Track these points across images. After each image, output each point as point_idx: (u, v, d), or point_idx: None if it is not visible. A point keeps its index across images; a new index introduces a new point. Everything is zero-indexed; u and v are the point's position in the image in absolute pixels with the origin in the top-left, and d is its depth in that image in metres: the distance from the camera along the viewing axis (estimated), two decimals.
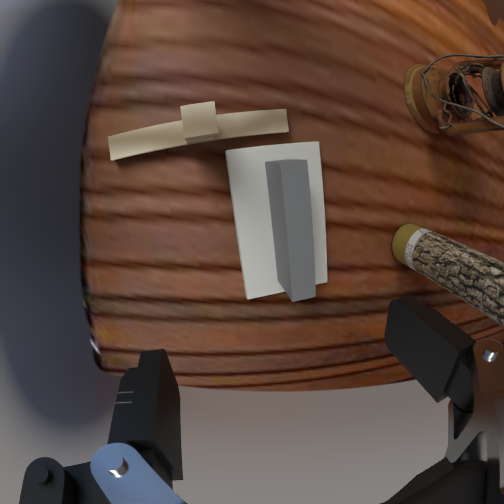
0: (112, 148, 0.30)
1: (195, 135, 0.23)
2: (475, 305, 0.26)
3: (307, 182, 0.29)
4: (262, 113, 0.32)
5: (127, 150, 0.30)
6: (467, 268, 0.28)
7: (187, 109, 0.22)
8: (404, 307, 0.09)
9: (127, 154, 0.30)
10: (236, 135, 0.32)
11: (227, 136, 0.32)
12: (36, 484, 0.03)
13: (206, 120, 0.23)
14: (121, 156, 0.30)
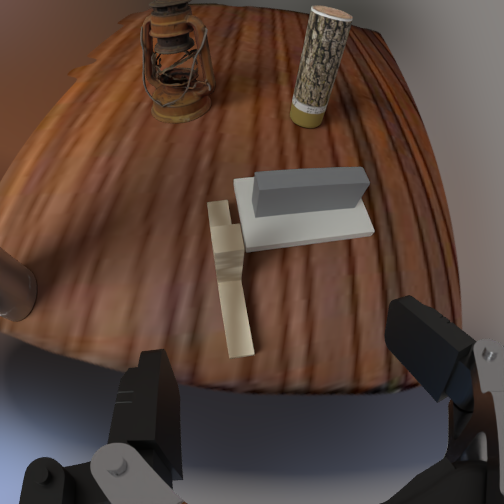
0: (242, 352, 0.33)
1: (242, 240, 0.29)
2: (342, 47, 0.36)
3: (273, 171, 0.37)
4: (212, 219, 0.40)
5: (245, 336, 0.34)
6: (317, 57, 0.38)
7: (217, 247, 0.28)
8: (404, 307, 0.09)
9: (249, 336, 0.34)
10: None
11: None
12: (36, 484, 0.03)
13: (228, 232, 0.29)
14: (251, 343, 0.33)
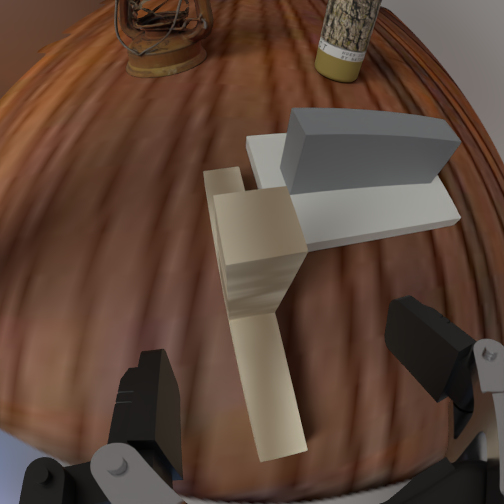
0: (284, 451, 0.14)
1: (298, 228, 0.11)
2: None
3: (323, 109, 0.18)
4: (212, 199, 0.22)
5: (289, 422, 0.15)
6: None
7: (234, 247, 0.10)
8: (404, 307, 0.09)
9: (297, 421, 0.15)
10: None
11: None
12: (36, 484, 0.03)
13: (259, 207, 0.11)
14: (300, 432, 0.15)
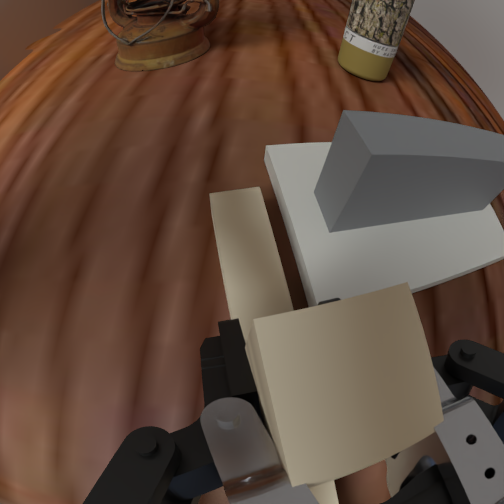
0: None
1: (431, 382, 0.04)
2: None
3: (385, 115, 0.12)
4: (224, 237, 0.15)
5: None
6: None
7: (313, 454, 0.04)
8: None
9: None
10: (285, 291, 0.14)
11: (290, 312, 0.14)
12: (136, 453, 0.04)
13: (363, 346, 0.04)
14: None
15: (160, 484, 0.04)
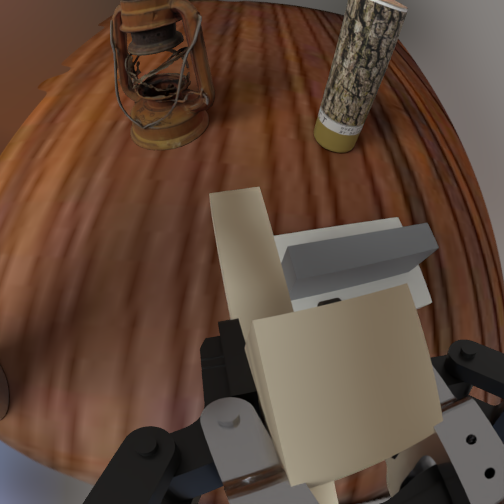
0: None
1: (431, 383, 0.04)
2: (393, 47, 0.24)
3: (314, 243, 0.24)
4: (224, 237, 0.15)
5: None
6: (361, 59, 0.25)
7: (312, 455, 0.04)
8: None
9: None
10: (285, 291, 0.14)
11: (290, 312, 0.14)
12: (136, 453, 0.04)
13: (362, 347, 0.04)
14: None
15: (160, 484, 0.04)
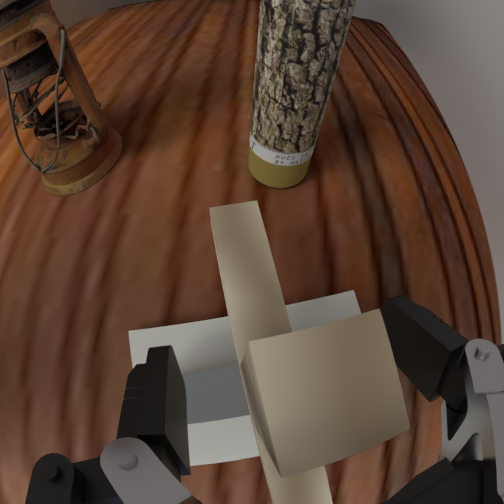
0: None
1: (398, 392, 0.05)
2: (345, 24, 0.14)
3: None
4: (224, 250, 0.16)
5: None
6: (288, 49, 0.16)
7: (296, 447, 0.05)
8: (396, 306, 0.09)
9: None
10: (281, 301, 0.15)
11: (285, 320, 0.15)
12: (44, 480, 0.03)
13: (337, 362, 0.05)
14: None
15: None
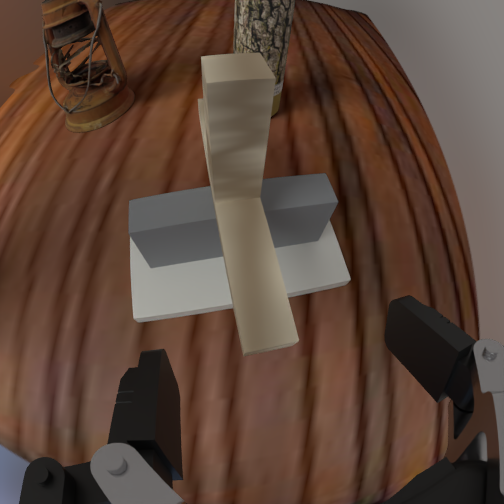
0: (272, 340, 0.15)
1: (268, 69, 0.11)
2: None
3: (158, 196, 0.21)
4: (205, 117, 0.22)
5: (276, 305, 0.16)
6: (252, 11, 0.22)
7: (215, 75, 0.11)
8: (404, 307, 0.09)
9: (285, 304, 0.16)
10: None
11: None
12: (36, 484, 0.03)
13: (237, 60, 0.12)
14: (290, 317, 0.15)
15: None
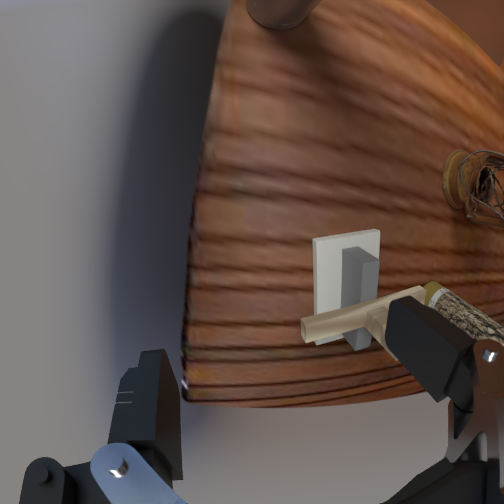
0: (308, 334, 0.38)
1: None
2: None
3: (377, 275, 0.40)
4: (413, 296, 0.40)
5: (320, 335, 0.39)
6: (472, 326, 0.38)
7: None
8: (404, 307, 0.09)
9: (320, 338, 0.39)
10: None
11: None
12: (36, 484, 0.03)
13: None
14: (314, 339, 0.39)
15: None
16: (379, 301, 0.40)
